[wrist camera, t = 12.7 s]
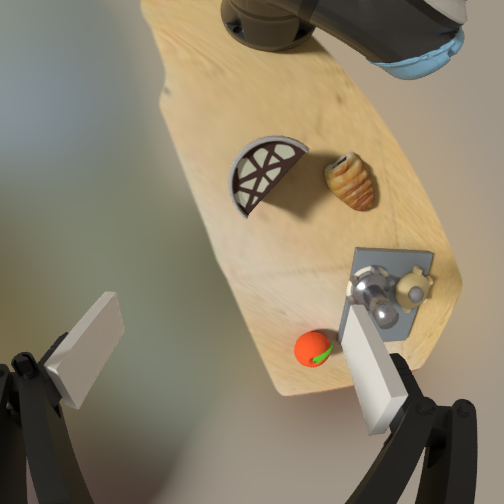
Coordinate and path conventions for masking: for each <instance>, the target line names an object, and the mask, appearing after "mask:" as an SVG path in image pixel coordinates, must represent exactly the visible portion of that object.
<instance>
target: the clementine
mask: <svg viewBox="0 0 504 504" xmlns="http://www.w3.org/2000/svg"><path fill="white" fill-rule="evenodd" d="M333 343H334V341H333ZM332 347H333V344H332V346H331V347H330V343H329V341H328V340H327V338H326V337H325V336H324V335H322V334H321V333H318V332H308V333H306V334H304V335H302V336H301V337H300V338H299V339H298V340H297V342H296V344H295V349H294V353H295V356H296V359H297V360H298V361H299V362H300V363H301V364H302V365H304V366H307V367H317V366H320V365H322V364H323V363H324V362H325V361H326V360H327V359H328V357H329V354H330V352H331V350H332Z"/></svg>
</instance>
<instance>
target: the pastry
mask: <svg viewBox="0 0 504 504" xmlns="http://www.w3.org/2000/svg"><path fill="white" fill-rule="evenodd" d="M324 176H325V179H326V182H327V186H328V187H329V188H330V189H331V190H332V191H333V193H334V194H335V195H336V196H337V197H338V198H339V199H340V200H341V201H343V202H345V203H346V204H347V205H348V206H350V207H351V208H353V209H354V210H357V211H363V210H366V209H367V208H370V207H372V206H373V202H374V199H375V197H374V188H373V185H372V181H371V179H370V175H369V172H368V171H367V170H366V169H365V167H364V163H363V162H362V161H361V160H360V159H358V157H357V156H356V154H355V153H354V152H349V153H348V154H347V155H344V156H342V157H340V158H339V159H338V160H337V161H336V162H335V163H333V164H330V165H329V166H328V167H326V169H325V171H324Z"/></svg>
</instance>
